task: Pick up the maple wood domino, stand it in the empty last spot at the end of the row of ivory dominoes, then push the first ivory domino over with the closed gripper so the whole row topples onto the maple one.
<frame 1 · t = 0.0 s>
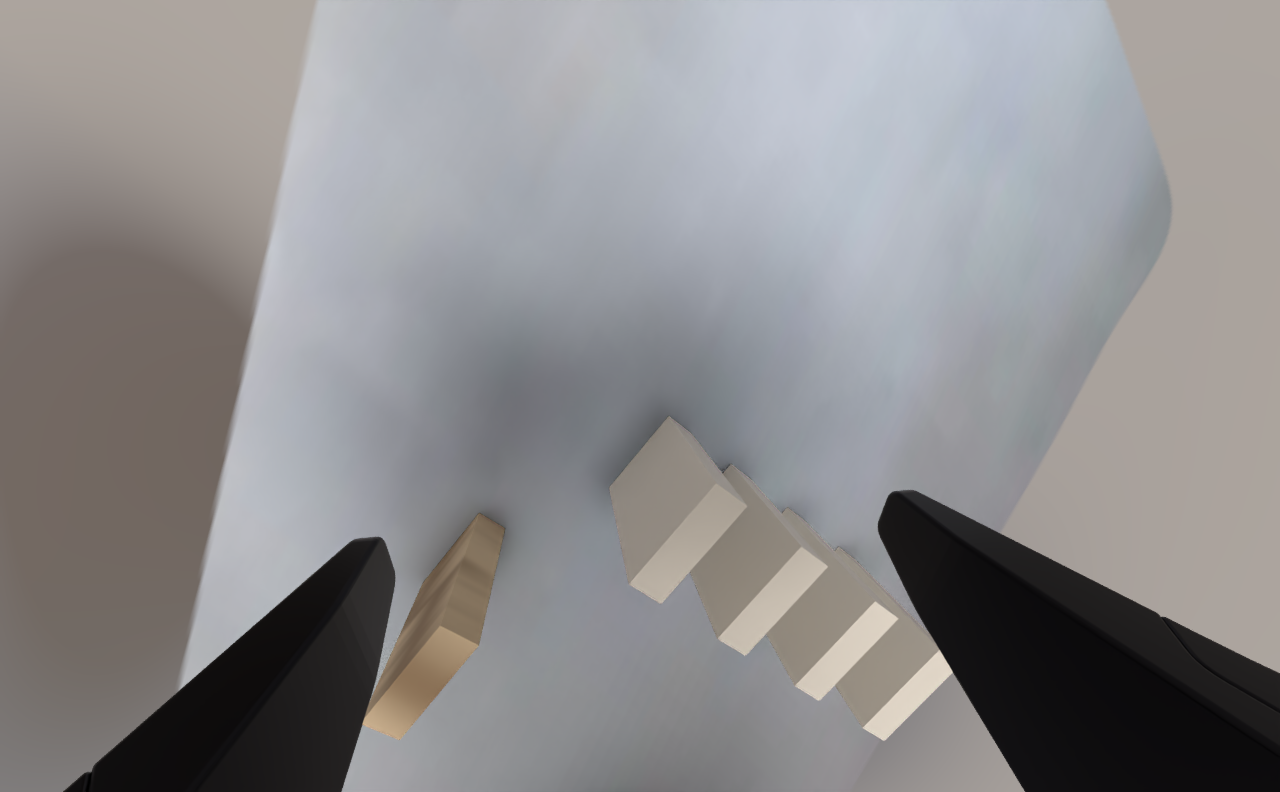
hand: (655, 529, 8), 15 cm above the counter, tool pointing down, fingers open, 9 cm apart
domino 3: (712, 505, 26), on the counter
domino 4: (650, 460, 25), on the counter
maple domino: (463, 555, 25), on the counter
domino 2: (768, 545, 28), on the counter
domino 1: (819, 582, 29), on the counter
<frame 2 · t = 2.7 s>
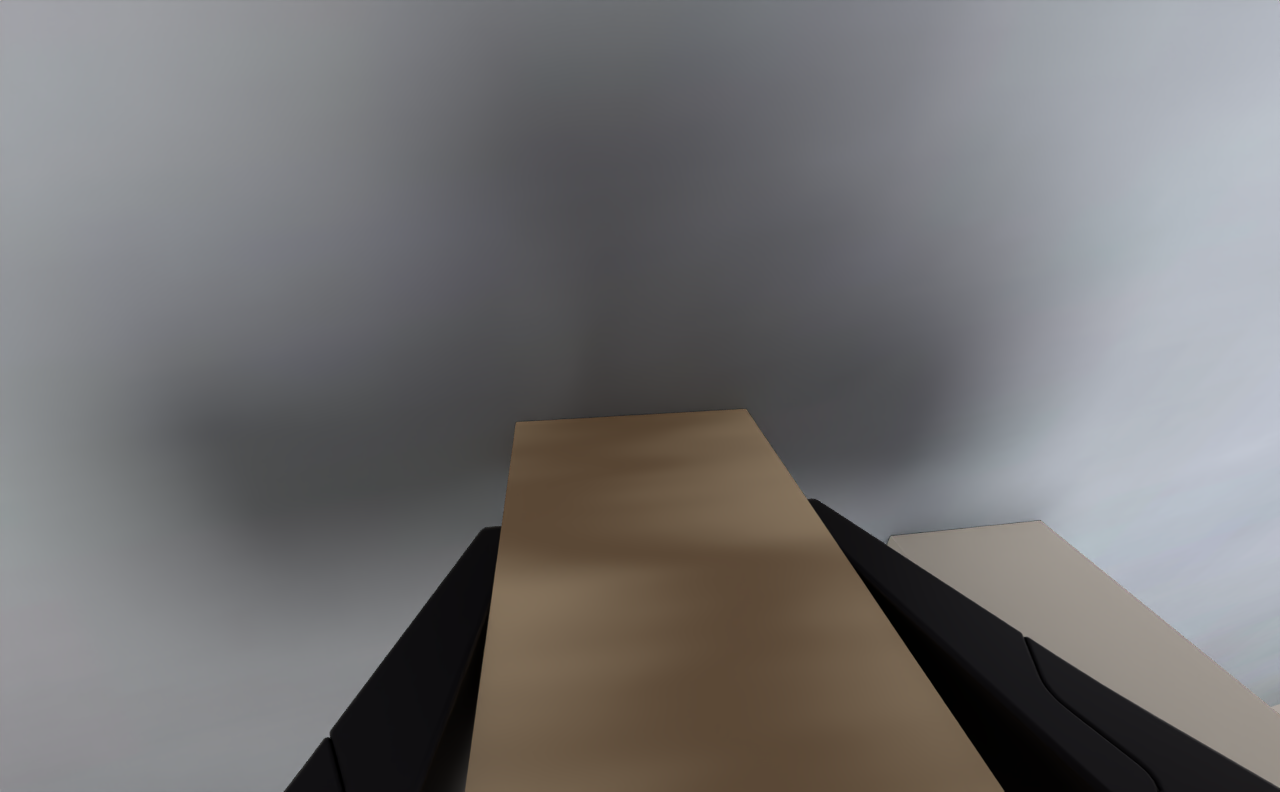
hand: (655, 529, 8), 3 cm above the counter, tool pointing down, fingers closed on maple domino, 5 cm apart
domino 4: (957, 547, 14), on the counter
maple domino: (634, 445, 10), on the counter, touching gripper
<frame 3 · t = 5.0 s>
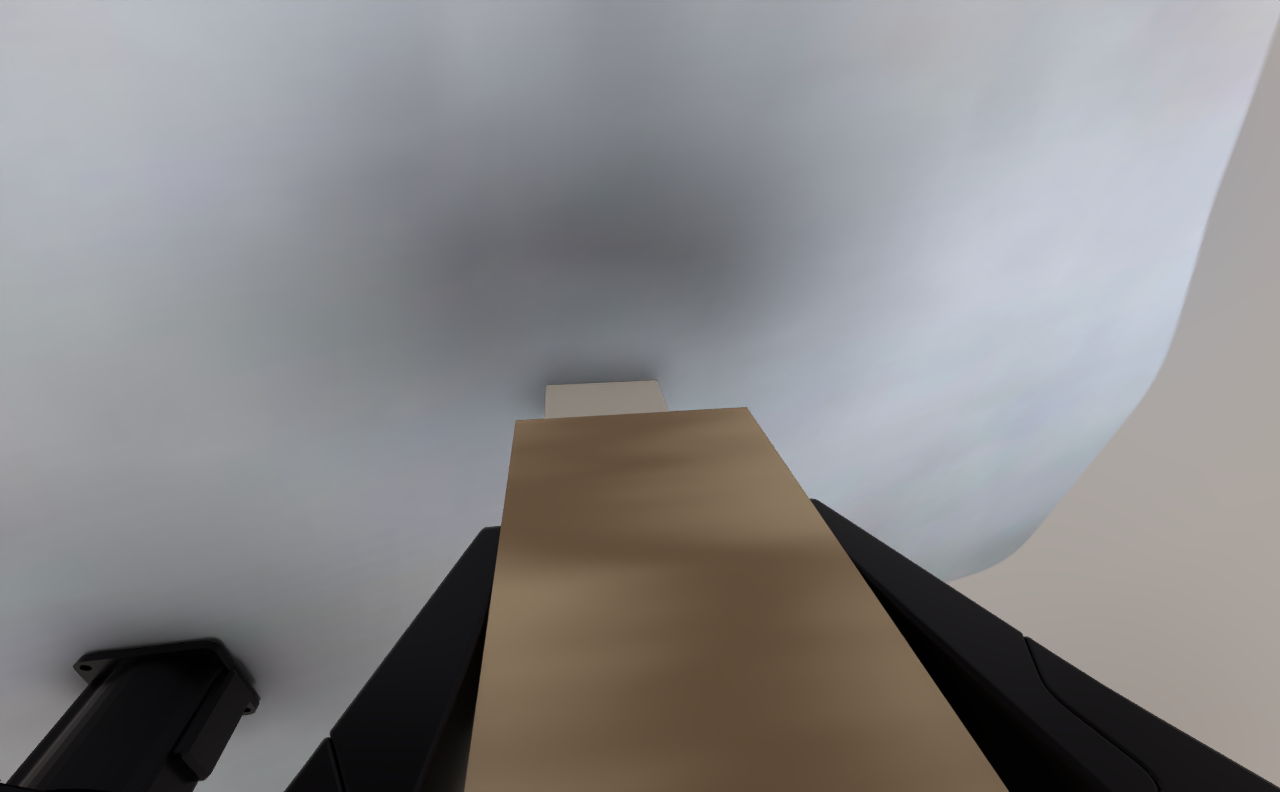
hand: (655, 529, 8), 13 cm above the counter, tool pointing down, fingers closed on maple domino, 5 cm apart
domino 4: (602, 397, 22), on the counter
maple domino: (634, 444, 10), point 10 cm above the counter, touching gripper
when the fingers open (3 cm above the counter, at t = 7.4 s): maple domino stays where it is, on the counter.
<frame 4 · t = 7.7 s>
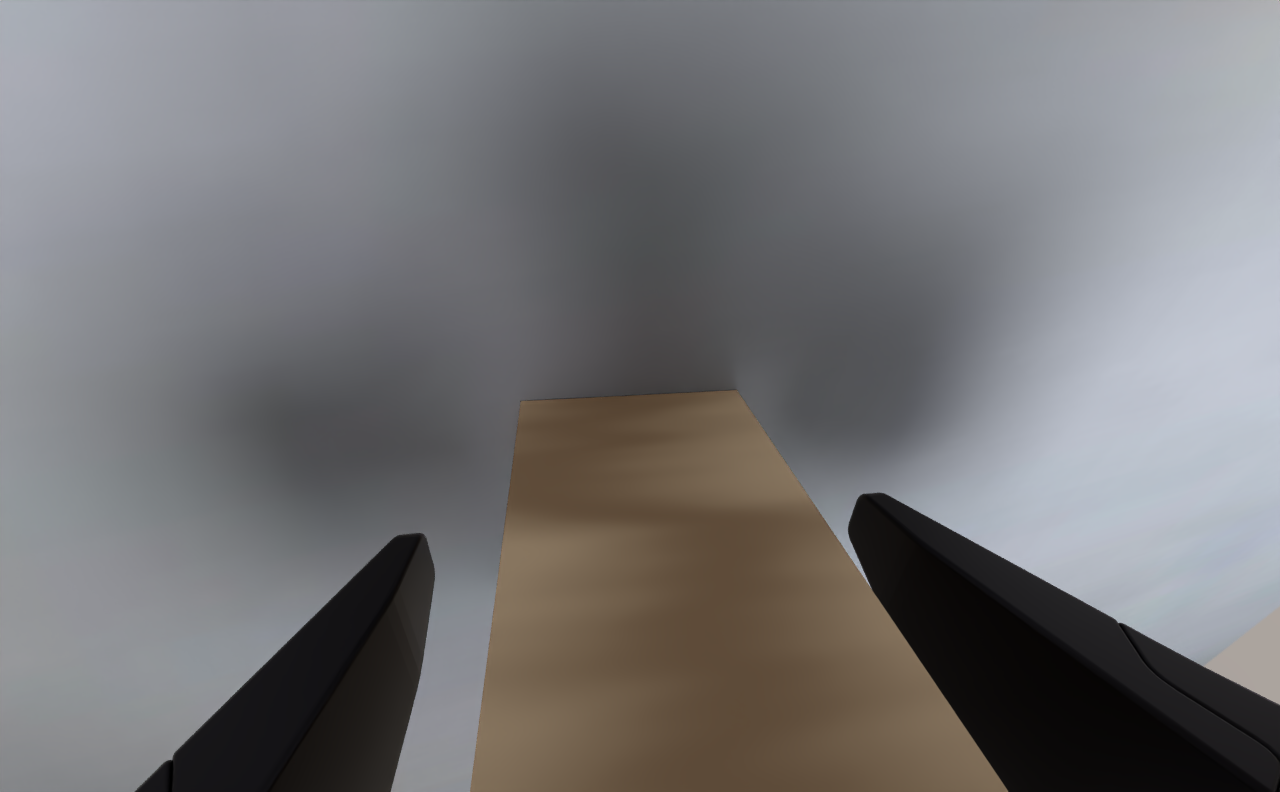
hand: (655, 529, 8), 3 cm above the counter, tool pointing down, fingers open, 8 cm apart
maple domino: (631, 424, 11), on the counter
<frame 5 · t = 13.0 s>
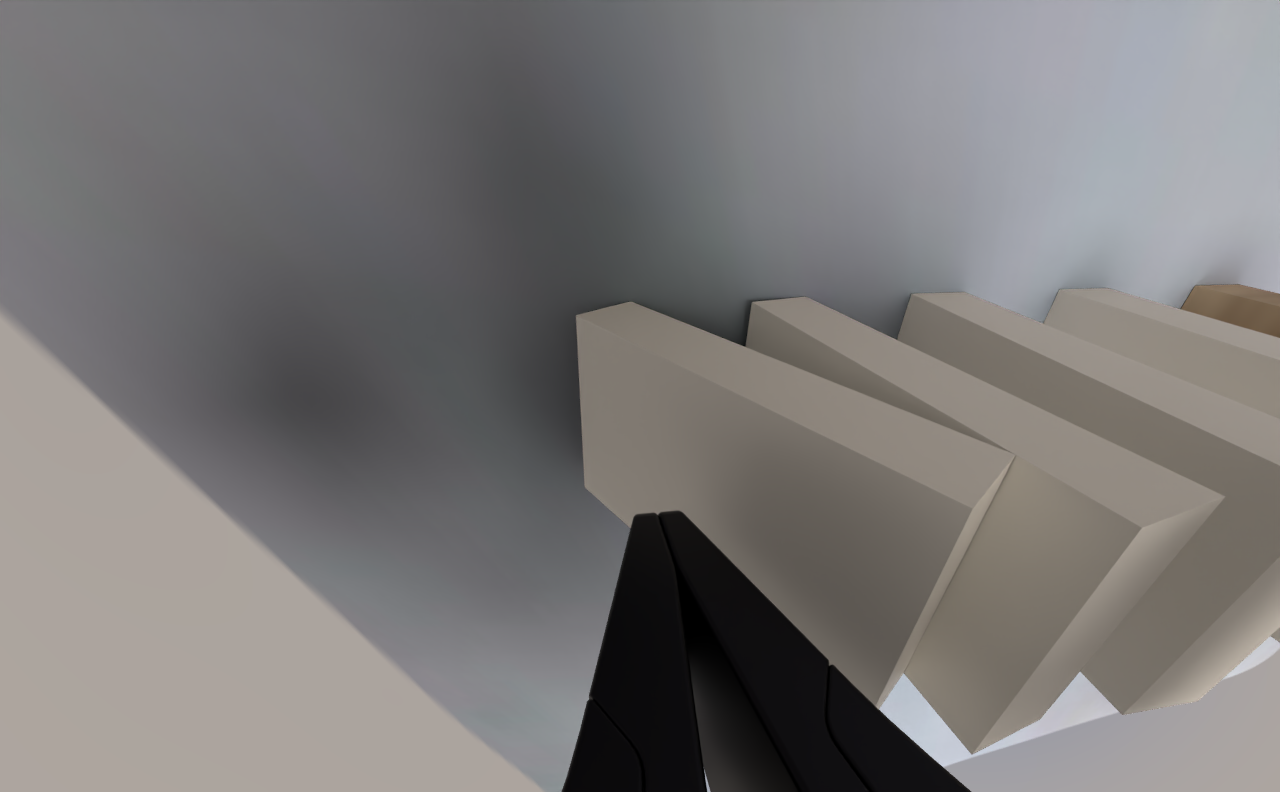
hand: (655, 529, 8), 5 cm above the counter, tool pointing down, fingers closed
domino 3: (909, 375, 14), on the counter
domino 4: (1044, 367, 15), on the counter
maple domino: (1168, 361, 15), on the counter
domino 2: (764, 386, 13), on the counter, tilted 11°
domino 1: (606, 400, 12), on the counter, tilted 32°
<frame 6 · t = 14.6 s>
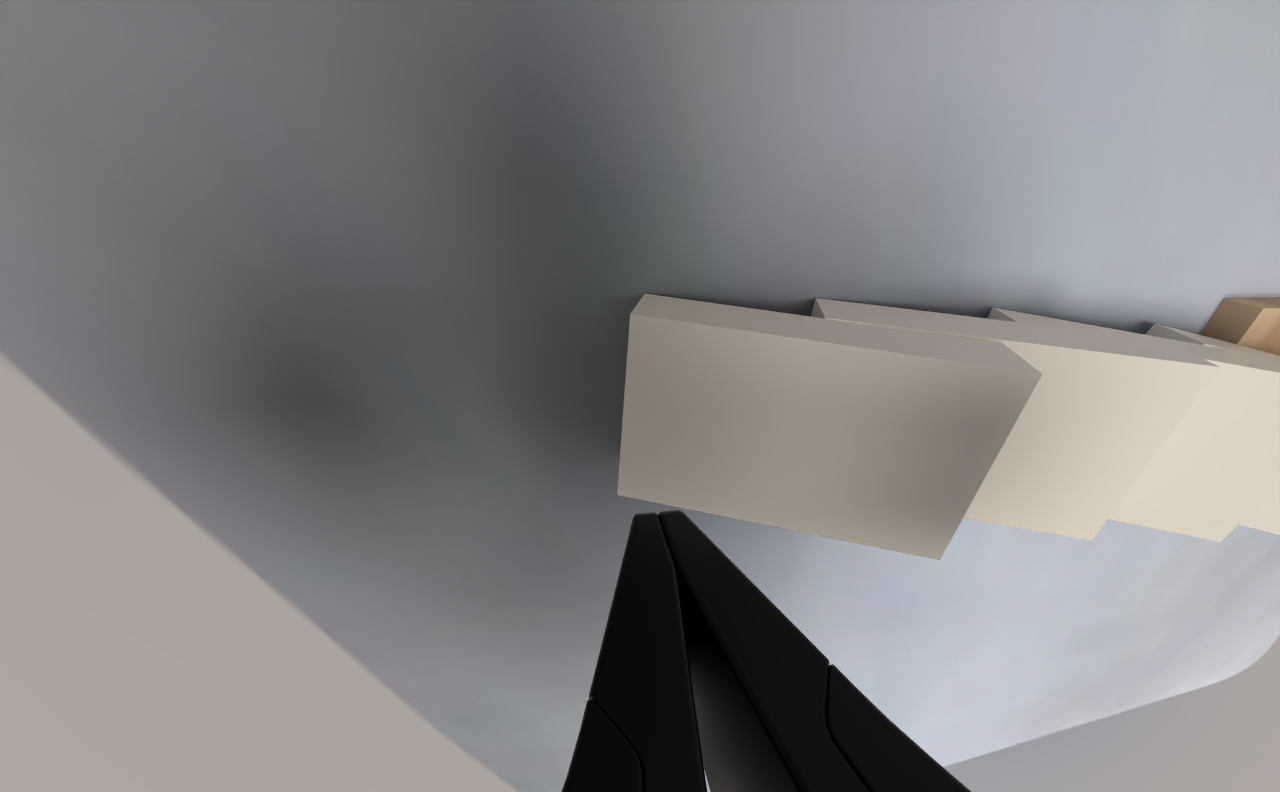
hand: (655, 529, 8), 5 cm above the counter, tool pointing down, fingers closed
domino 3: (962, 398, 13), point 1 cm above the counter, tilted 72°, touching domino 4
domino 4: (1115, 406, 14), point 1 cm above the counter, tilted 75°, touching domino 3, maple domino
maple domino: (1178, 373, 15), on the counter, tilted 90°, touching domino 4
domino 2: (796, 396, 13), point 1 cm above the counter, tilted 71°, touching domino 1
domino 1: (630, 398, 12), point 1 cm above the counter, tilted 70°, touching domino 2
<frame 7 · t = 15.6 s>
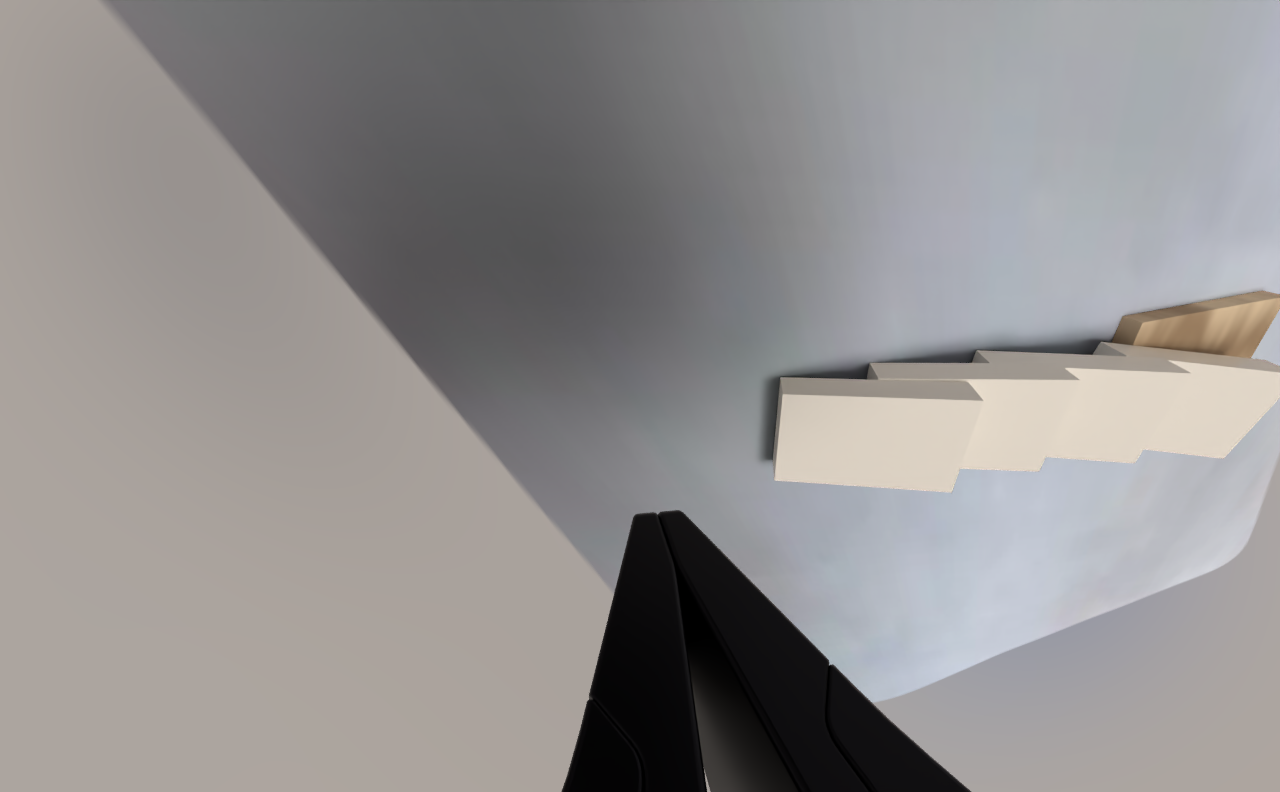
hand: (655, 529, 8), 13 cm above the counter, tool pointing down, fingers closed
domino 3: (966, 401, 24), point 1 cm above the counter, tilted 72°, touching domino 2, domino 4
domino 4: (1084, 392, 24), point 1 cm above the counter, tilted 77°, touching domino 3, maple domino
maple domino: (1106, 361, 25), on the counter, tilted 90°, touching domino 4
domino 2: (865, 415, 23), point 1 cm above the counter, tilted 72°, touching domino 1, domino 3
domino 1: (777, 430, 23), point 1 cm above the counter, tilted 71°, touching domino 2
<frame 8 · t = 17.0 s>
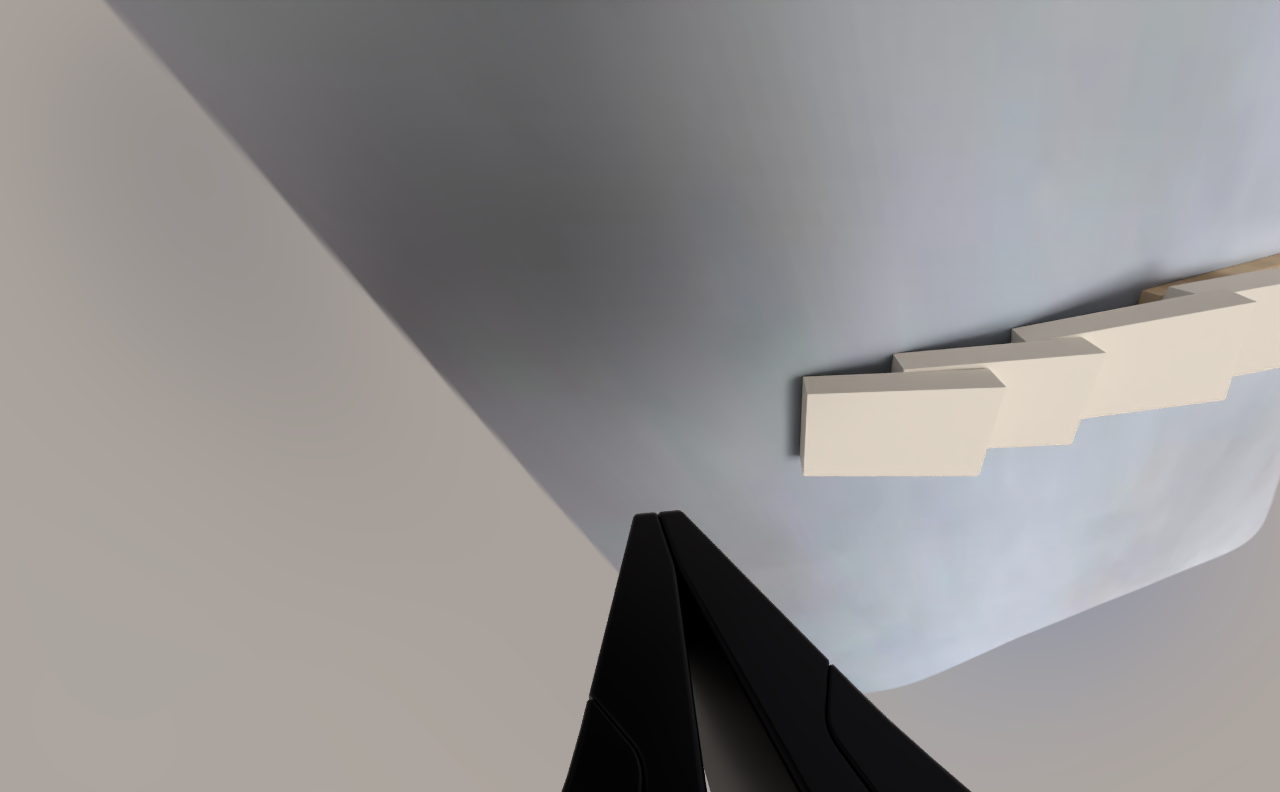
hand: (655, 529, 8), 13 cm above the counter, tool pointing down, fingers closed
domino 3: (1016, 378, 24), point 1 cm above the counter, tilted 71°, touching domino 2, domino 4
domino 4: (1163, 340, 23), point 2 cm above the counter, tilted 90°, touching domino 3, maple domino
maple domino: (1126, 335, 25), on the counter, tilted 90°, touching domino 4
domino 2: (892, 404, 24), point 1 cm above the counter, tilted 73°, touching domino 1, domino 3
domino 1: (803, 427, 23), point 1 cm above the counter, tilted 72°, touching domino 2
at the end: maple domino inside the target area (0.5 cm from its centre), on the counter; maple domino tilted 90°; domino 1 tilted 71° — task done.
